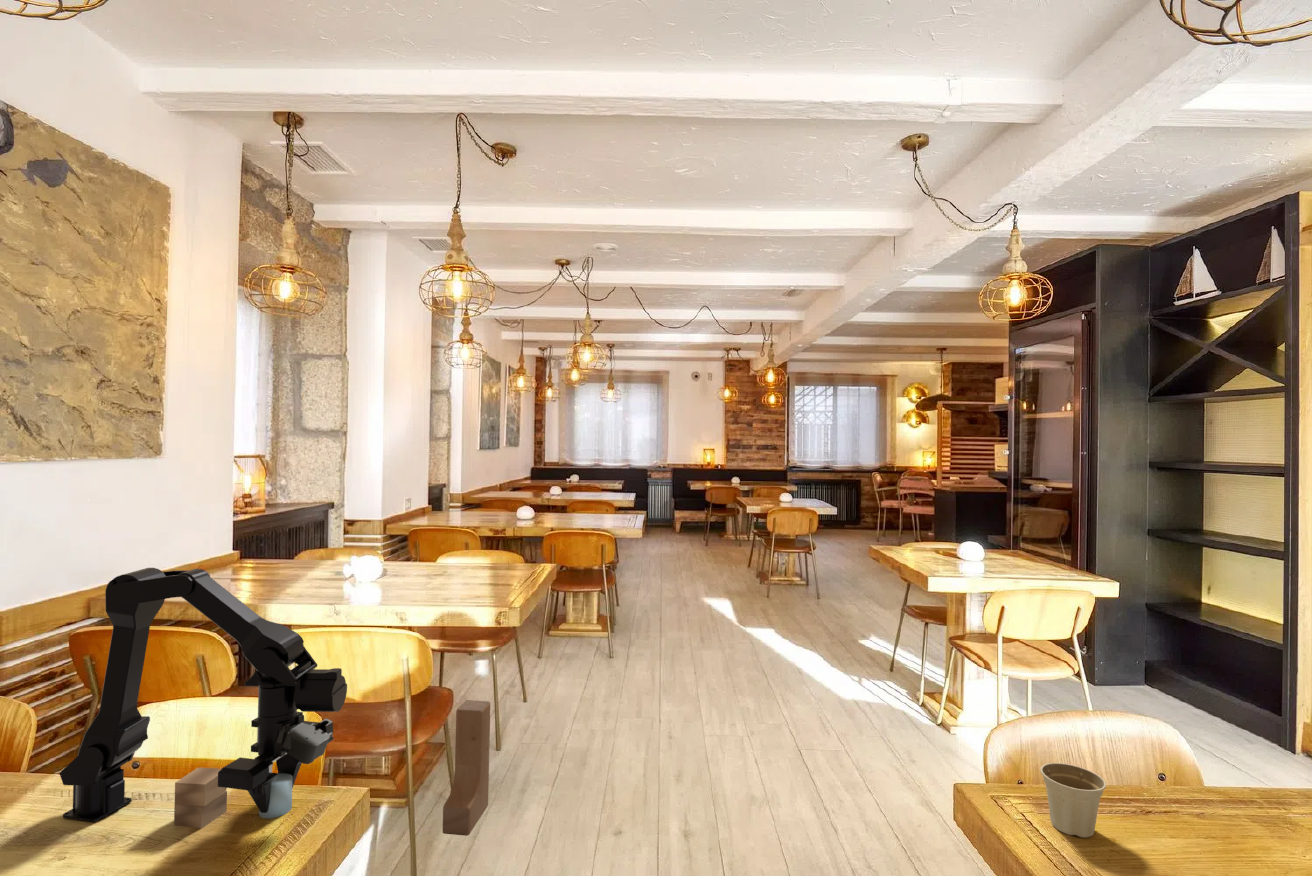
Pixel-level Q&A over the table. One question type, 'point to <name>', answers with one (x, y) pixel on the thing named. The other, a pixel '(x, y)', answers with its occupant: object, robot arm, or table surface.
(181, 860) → the table surface
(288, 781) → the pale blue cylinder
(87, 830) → the table surface
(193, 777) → the upper block
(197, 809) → the lower block
